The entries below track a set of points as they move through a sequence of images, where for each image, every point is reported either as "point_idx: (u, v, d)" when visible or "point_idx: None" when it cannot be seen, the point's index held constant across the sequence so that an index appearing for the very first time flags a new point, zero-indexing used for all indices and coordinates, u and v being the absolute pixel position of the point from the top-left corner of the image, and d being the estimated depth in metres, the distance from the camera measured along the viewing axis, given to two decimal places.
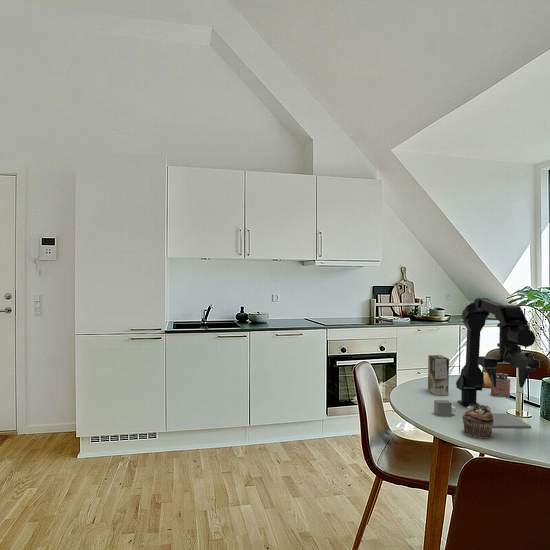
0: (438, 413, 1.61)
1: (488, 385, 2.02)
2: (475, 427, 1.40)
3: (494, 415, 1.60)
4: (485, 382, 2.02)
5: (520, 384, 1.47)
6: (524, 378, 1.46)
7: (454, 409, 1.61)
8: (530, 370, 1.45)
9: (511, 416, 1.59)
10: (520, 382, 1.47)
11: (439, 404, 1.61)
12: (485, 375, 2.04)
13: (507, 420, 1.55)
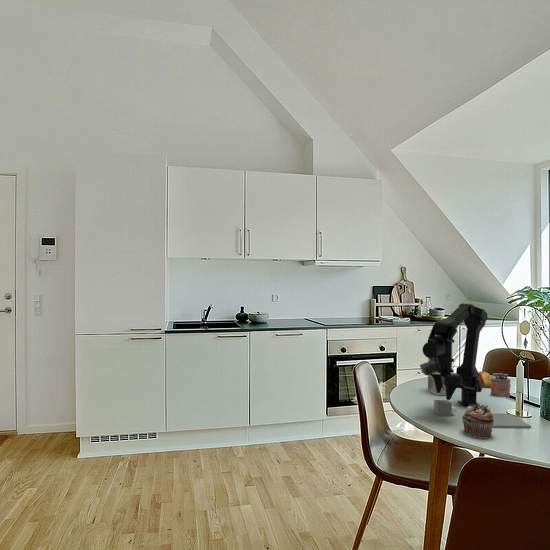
0: (438, 413, 1.61)
1: (488, 385, 2.02)
2: (475, 427, 1.40)
3: (494, 415, 1.60)
4: (485, 382, 2.02)
5: None
6: (446, 390, 1.57)
7: (454, 409, 1.61)
8: (443, 383, 1.56)
9: (511, 416, 1.59)
10: None
11: (439, 404, 1.61)
12: (485, 375, 2.04)
13: (507, 420, 1.55)
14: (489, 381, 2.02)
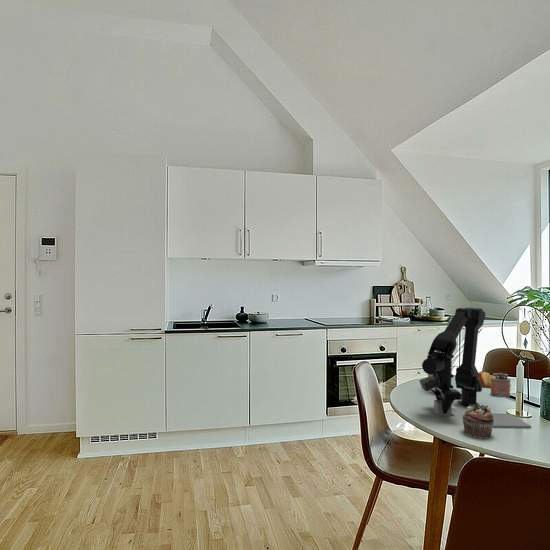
0: (438, 413, 1.61)
1: (488, 385, 2.02)
2: (475, 427, 1.40)
3: (494, 415, 1.60)
4: (485, 382, 2.02)
5: None
6: (442, 404, 1.60)
7: (454, 409, 1.61)
8: (439, 397, 1.59)
9: (511, 416, 1.59)
10: None
11: (439, 404, 1.61)
12: (485, 375, 2.04)
13: (507, 420, 1.55)
14: (489, 381, 2.02)
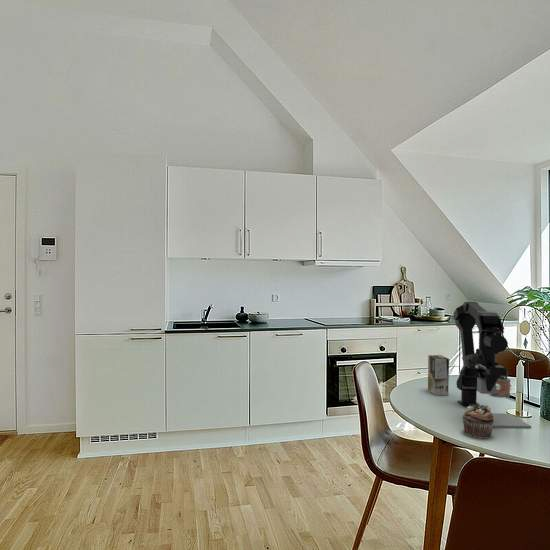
0: (482, 390, 1.56)
1: None
2: (475, 427, 1.40)
3: (494, 415, 1.60)
4: None
5: None
6: (487, 381, 1.55)
7: (499, 387, 1.56)
8: (484, 374, 1.54)
9: (511, 416, 1.59)
10: None
11: (483, 381, 1.55)
12: None
13: (507, 420, 1.55)
14: None
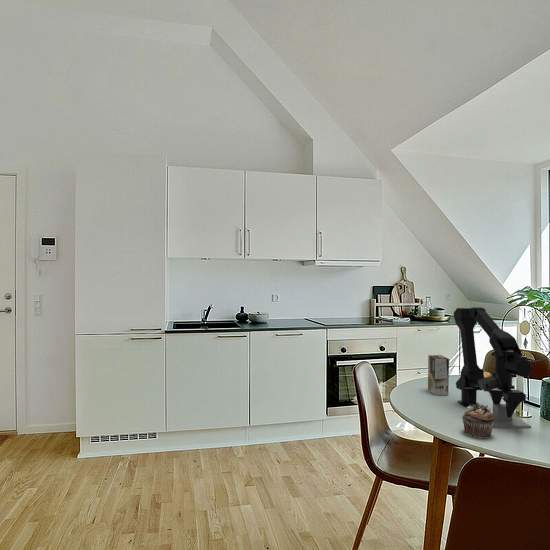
0: (498, 418, 1.54)
1: None
2: (475, 427, 1.40)
3: None
4: None
5: None
6: (507, 407, 1.51)
7: (515, 413, 1.55)
8: (504, 400, 1.50)
9: None
10: None
11: (499, 408, 1.54)
12: (486, 375, 2.05)
13: None
14: None
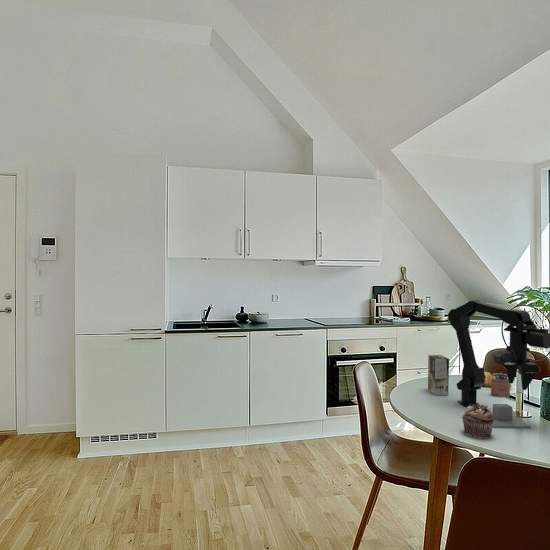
0: (498, 418, 1.54)
1: (488, 385, 2.02)
2: (475, 427, 1.40)
3: None
4: (485, 382, 2.03)
5: None
6: (522, 380, 1.54)
7: (515, 413, 1.55)
8: (519, 372, 1.53)
9: None
10: None
11: (499, 408, 1.54)
12: (486, 375, 2.05)
13: None
14: (489, 381, 2.02)
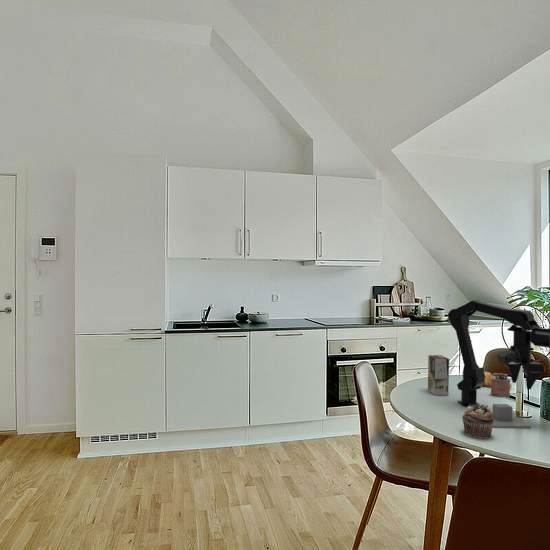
0: (498, 418, 1.54)
1: (488, 385, 2.03)
2: (475, 427, 1.40)
3: None
4: (485, 382, 2.03)
5: None
6: (526, 380, 1.55)
7: (515, 413, 1.55)
8: (524, 372, 1.54)
9: None
10: None
11: (499, 408, 1.54)
12: (486, 375, 2.05)
13: None
14: (489, 381, 2.03)
